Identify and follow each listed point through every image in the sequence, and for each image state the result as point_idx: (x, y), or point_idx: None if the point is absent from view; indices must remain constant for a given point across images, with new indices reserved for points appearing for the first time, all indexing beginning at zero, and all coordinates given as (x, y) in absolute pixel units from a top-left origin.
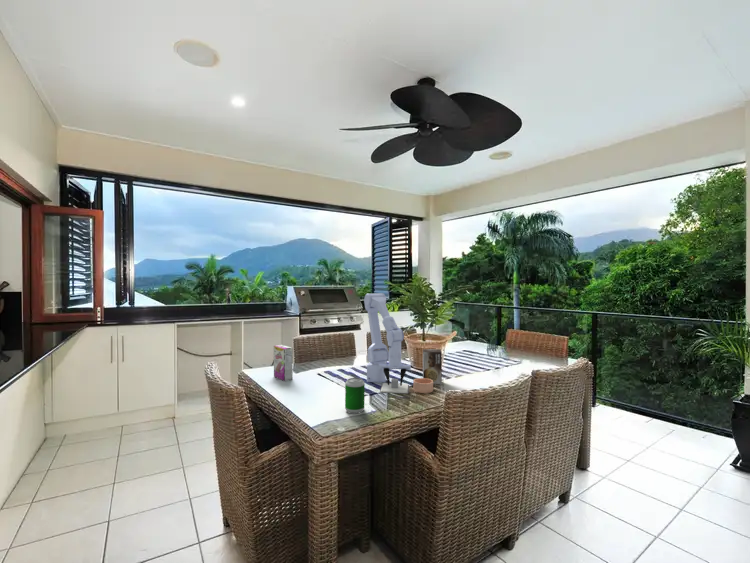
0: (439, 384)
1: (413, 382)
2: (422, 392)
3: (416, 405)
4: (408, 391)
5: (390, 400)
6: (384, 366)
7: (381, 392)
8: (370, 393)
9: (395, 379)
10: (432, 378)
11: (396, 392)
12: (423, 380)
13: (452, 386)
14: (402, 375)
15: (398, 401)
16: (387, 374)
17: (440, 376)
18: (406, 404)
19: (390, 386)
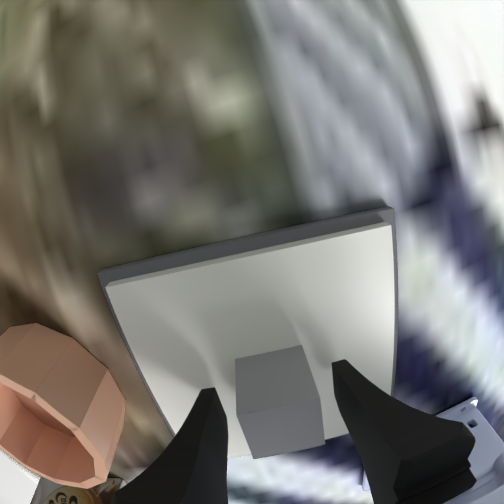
0: None
1: (80, 418)
2: (21, 329)
3: (2, 47)
4: (121, 330)
5: (224, 38)
6: (487, 502)
7: (375, 213)
8: (454, 186)
9: (278, 437)
10: (69, 500)
11: (219, 258)
12: (68, 469)
13: (2, 450)
14: (166, 469)
15: (140, 44)
16: (399, 429)
17: (35, 502)
18: (65, 19)
19: (319, 378)
